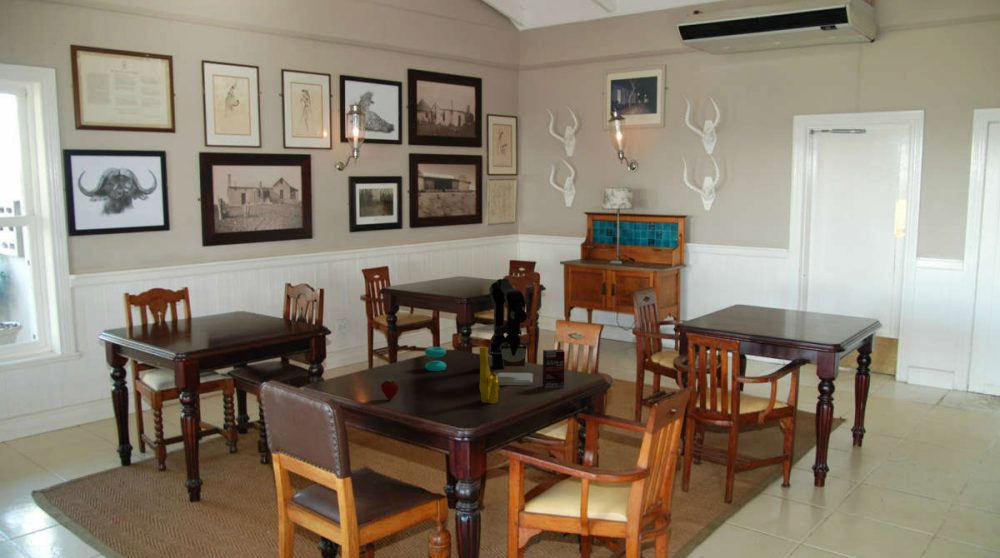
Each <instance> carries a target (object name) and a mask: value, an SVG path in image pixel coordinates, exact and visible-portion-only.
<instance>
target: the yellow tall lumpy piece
mask: <svg viewBox="0 0 1000 558" xmlns="http://www.w3.org/2000/svg"><path fill="white" fill-rule="evenodd" d="M479 362H480V367H479V391H480V398H481V403H484V404H485V403H488V404H493V405H494V403H495V404H496V403H498V400H499V392H498V391H499V390H500V389H501V387H500V385H498V380H497V373H494V372H493V371H491V367H490V364H489V355H488V347H487V346H481V347H479Z"/></svg>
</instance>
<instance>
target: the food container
mask: <svg viewBox="0 0 1000 558" xmlns="http://www.w3.org/2000/svg"><path fill="white" fill-rule="evenodd" d="M500 349H501V353H502V360H503V366H504V367H505V368H525V367H526V359H527V358H526V357H527V350H528V349H529V348H528V346H527V344H526V343H525V342H523V341H520V343H519V346H518V349H517V351H516V354H515V356H512V352H511V347H510V344H509V343H507V342H505V343H503V344H501V346H500Z"/></svg>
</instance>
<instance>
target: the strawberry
mask: <svg viewBox="0 0 1000 558" xmlns="http://www.w3.org/2000/svg"><path fill="white" fill-rule="evenodd" d="M380 388H381V391H382V393H383V394H384V396H385V397H386V398H387V400H389V401H392V400H393V398H394V397H395V396H396V395H397V393H398V391H399V388H400V384H399V383H398V382H397V380H396V379H395V378H390V379H387V378H386V379H384V381H383V382H382V383H381V384H380Z"/></svg>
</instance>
